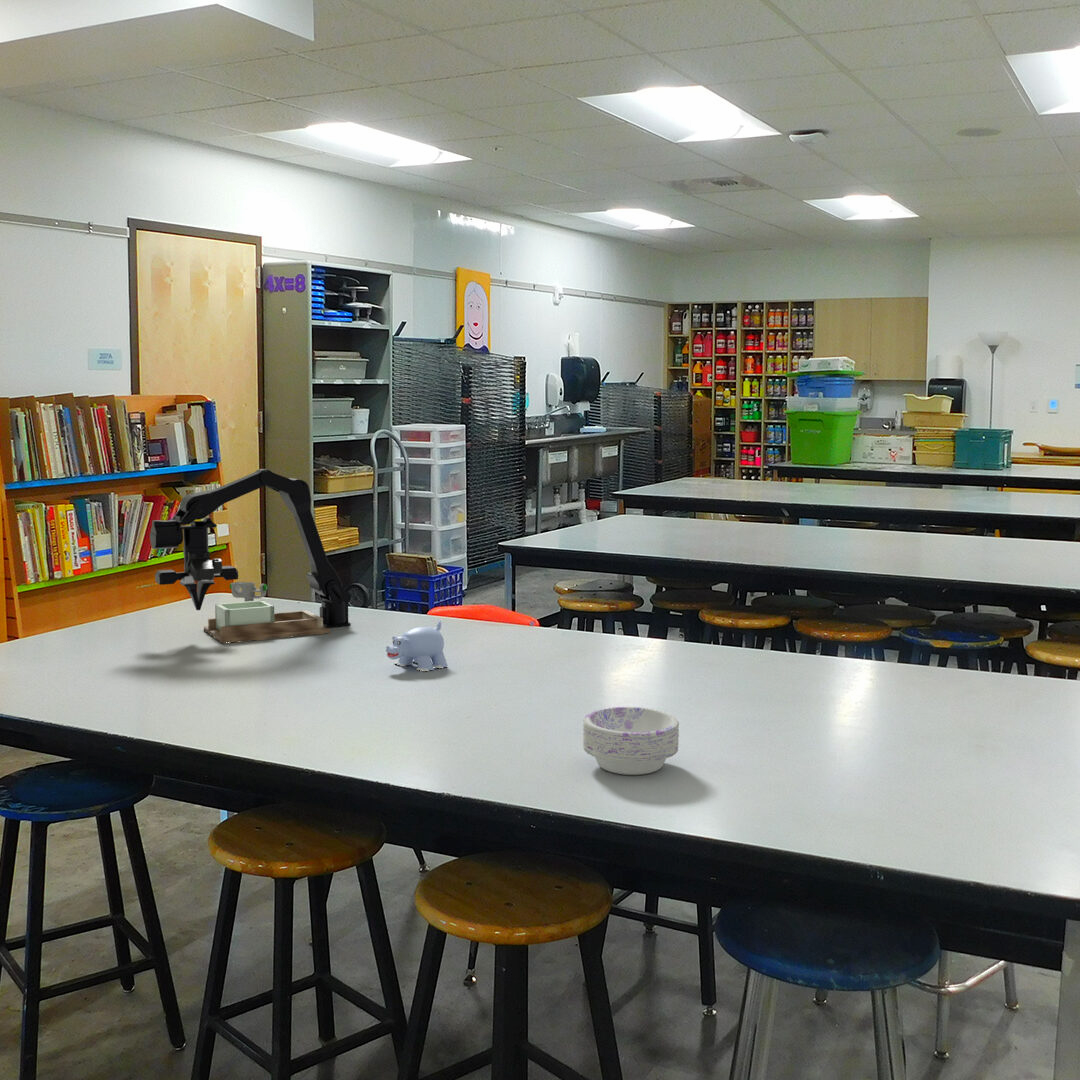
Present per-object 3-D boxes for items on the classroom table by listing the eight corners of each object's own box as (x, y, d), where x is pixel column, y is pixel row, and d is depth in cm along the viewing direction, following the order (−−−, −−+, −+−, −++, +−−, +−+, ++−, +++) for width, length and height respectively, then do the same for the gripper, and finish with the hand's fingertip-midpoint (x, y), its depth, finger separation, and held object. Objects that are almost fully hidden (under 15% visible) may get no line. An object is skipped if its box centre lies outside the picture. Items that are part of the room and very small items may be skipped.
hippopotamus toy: (373, 669, 250) (373, 626, 249) (425, 658, 261) (425, 617, 260) (406, 677, 243) (405, 632, 242) (458, 665, 254) (458, 623, 253)
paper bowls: (639, 788, 173) (640, 737, 172) (563, 767, 183) (563, 718, 182) (696, 765, 184) (698, 717, 183) (621, 746, 194) (622, 700, 193)
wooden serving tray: (307, 621, 303) (307, 608, 303) (330, 633, 288) (330, 619, 288) (203, 630, 290) (203, 617, 290) (222, 643, 275) (221, 629, 274)
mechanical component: (265, 622, 302) (264, 584, 301) (229, 620, 304) (228, 583, 303) (269, 620, 305) (269, 583, 304) (234, 618, 307) (233, 581, 306)
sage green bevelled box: (263, 623, 293) (262, 600, 293) (274, 630, 285) (274, 606, 284) (215, 627, 288) (215, 604, 287) (226, 634, 279) (225, 610, 278)
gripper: (163, 552, 266) (165, 618, 268) (243, 548, 276) (245, 612, 278) (153, 547, 276) (155, 611, 278) (231, 543, 285) (233, 604, 287)
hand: (198, 610), depth 280 cm, fingers closed
